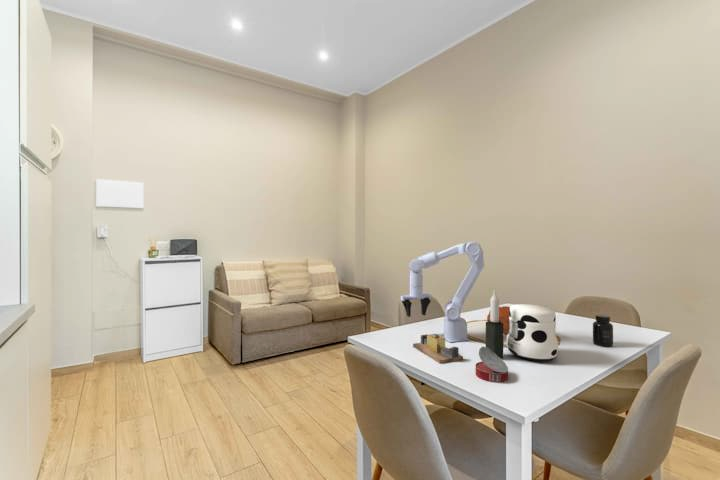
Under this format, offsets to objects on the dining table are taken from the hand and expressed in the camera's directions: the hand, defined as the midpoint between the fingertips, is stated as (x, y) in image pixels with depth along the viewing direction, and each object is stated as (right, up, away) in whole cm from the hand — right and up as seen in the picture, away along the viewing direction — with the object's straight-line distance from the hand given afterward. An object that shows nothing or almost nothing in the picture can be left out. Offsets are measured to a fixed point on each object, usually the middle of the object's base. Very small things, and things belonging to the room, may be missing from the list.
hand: (416, 315), depth 148 cm
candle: (+25, -10, -25) cm, 37 cm away
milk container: (+40, -10, -24) cm, 47 cm away
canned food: (+17, -10, -41) cm, 46 cm away
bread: (+48, -10, +5) cm, 49 cm away
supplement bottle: (+76, -10, -11) cm, 77 cm away
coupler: (+4, -9, -20) cm, 22 cm away
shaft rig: (+4, -10, -21) cm, 23 cm away
